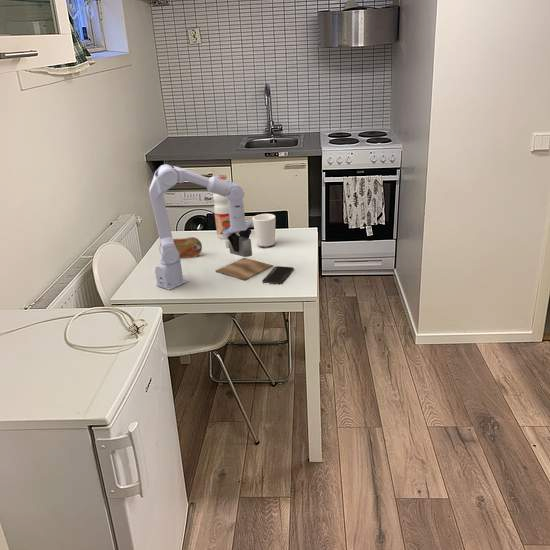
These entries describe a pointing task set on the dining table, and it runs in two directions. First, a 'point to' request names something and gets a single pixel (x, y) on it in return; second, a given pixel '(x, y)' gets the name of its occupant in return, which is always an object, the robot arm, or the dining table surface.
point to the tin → (188, 247)
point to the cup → (264, 229)
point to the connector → (241, 247)
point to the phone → (278, 275)
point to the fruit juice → (221, 213)
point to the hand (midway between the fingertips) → (240, 249)
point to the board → (244, 268)
